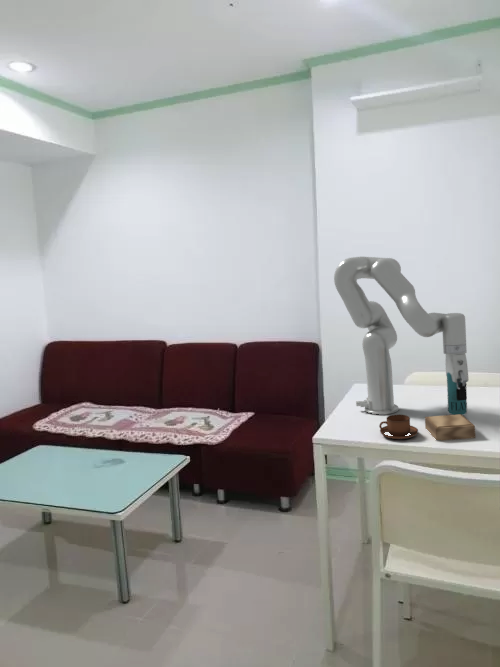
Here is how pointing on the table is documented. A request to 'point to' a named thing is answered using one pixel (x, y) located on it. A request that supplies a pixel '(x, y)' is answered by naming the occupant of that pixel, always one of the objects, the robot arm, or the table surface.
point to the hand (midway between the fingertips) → (456, 396)
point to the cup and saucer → (398, 427)
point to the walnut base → (450, 427)
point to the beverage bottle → (454, 398)
